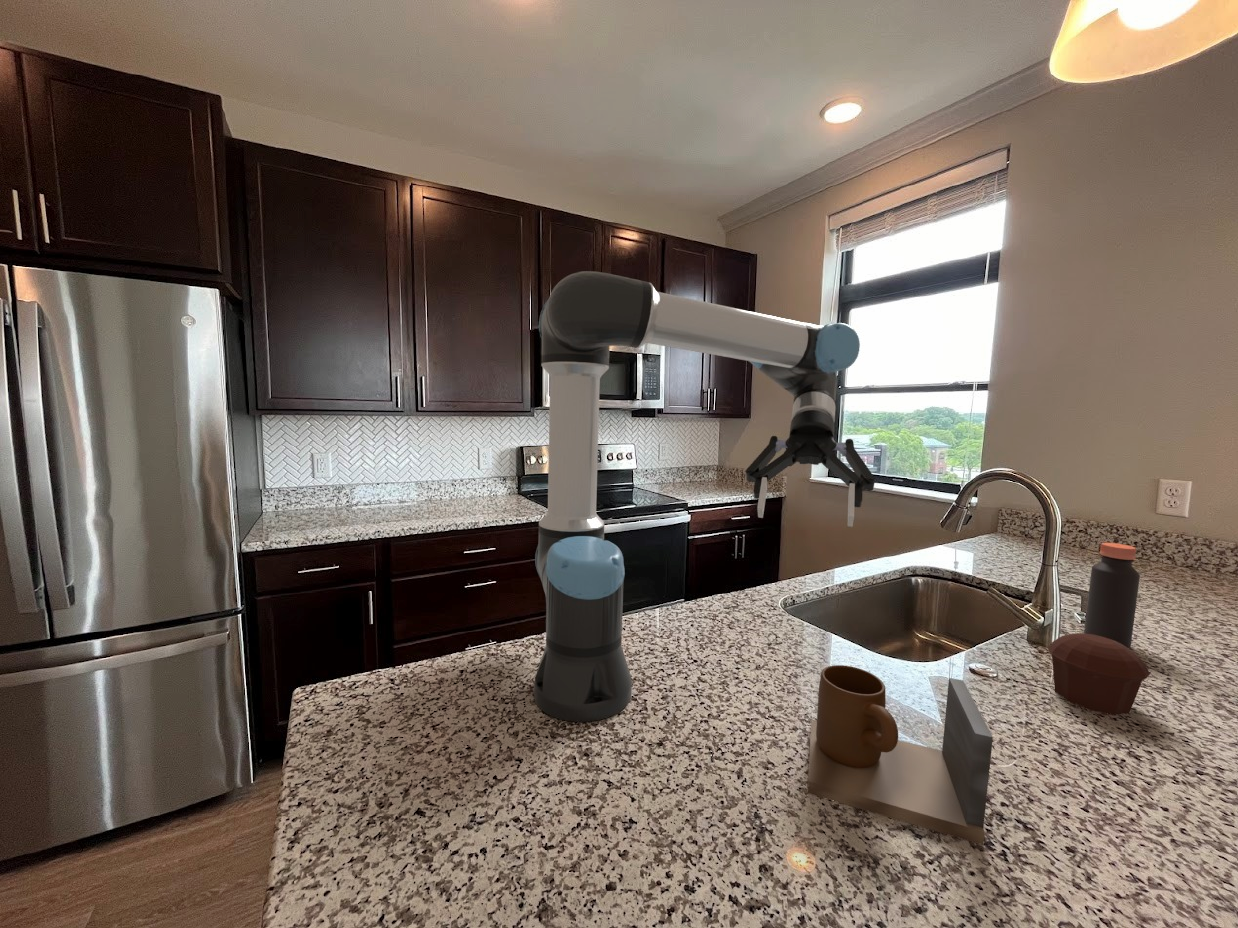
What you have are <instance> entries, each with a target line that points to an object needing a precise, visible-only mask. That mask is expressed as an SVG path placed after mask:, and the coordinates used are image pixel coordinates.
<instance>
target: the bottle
mask: <svg viewBox="0 0 1238 928" xmlns="http://www.w3.org/2000/svg"><path fill="white" fill-rule="evenodd" d="M1136 553H1137V548H1136V547H1135V546H1131V545H1127V544H1123V543H1114V542H1101V543H1100V551H1099V556H1100V558H1101V560H1100V561H1099V562H1097V563H1095V564H1093V565H1092V567H1091V571H1090V580H1089V588H1088V597H1087V603H1086V604H1087V605H1086V611H1085V613H1086V614H1085V622H1084V628H1083V629H1084V630H1083V633H1085V634H1093V635H1098V636H1102V637H1105V638H1108V639H1111V640H1114V641H1116V642H1118V643H1121V644H1122V645H1124V646H1126V647H1127V648H1129V649H1131V647H1132V641H1133V640H1132V639H1133V632H1134V623H1135V616H1136V608H1137V601H1138V593H1139V585H1140V578H1141V576H1140V573H1139V571H1137V570H1136V568H1135V567H1133V566H1132V565H1133V563H1134V562H1135V560H1136Z"/></svg>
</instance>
